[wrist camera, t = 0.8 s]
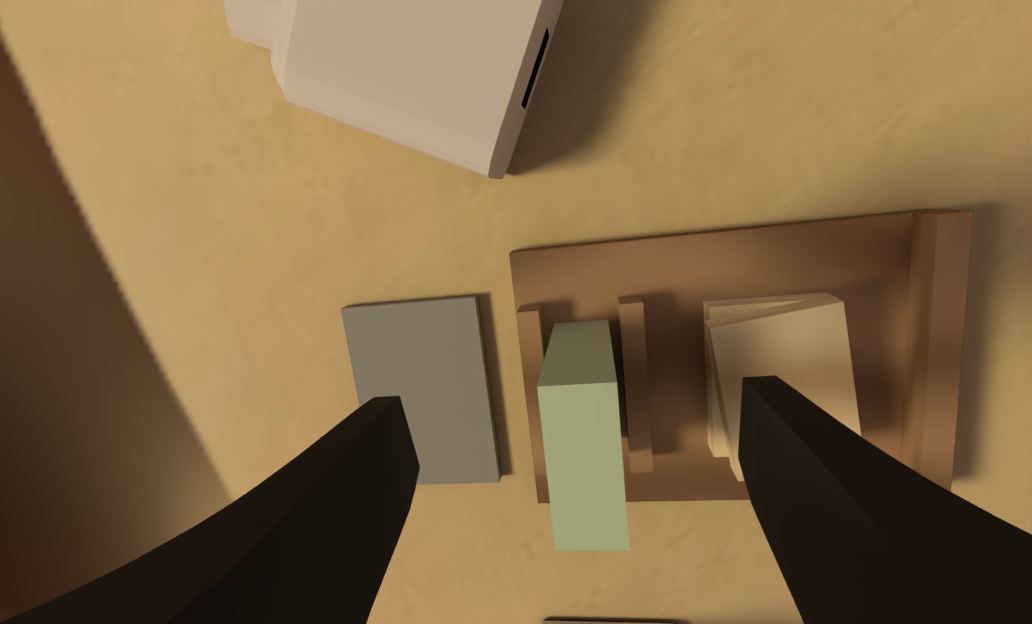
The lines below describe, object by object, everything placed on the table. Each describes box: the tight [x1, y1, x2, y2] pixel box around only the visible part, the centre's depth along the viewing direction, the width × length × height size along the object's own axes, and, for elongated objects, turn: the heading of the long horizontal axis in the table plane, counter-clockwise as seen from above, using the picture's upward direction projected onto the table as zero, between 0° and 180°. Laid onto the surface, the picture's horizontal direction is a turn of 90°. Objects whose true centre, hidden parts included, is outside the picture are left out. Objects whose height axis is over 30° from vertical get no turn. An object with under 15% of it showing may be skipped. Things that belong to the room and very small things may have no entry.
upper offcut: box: [704, 296, 861, 482], centre depth 21 cm, size 7×5×1 cm
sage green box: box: [537, 319, 629, 550], centre depth 20 cm, size 6×2×8 cm, turn 6°
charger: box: [224, 0, 564, 179], centre depth 21 cm, size 5×9×15 cm
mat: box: [341, 295, 501, 484], centre depth 26 cm, size 10×7×1 cm
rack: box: [509, 209, 974, 503], centre depth 23 cm, size 13×18×2 cm
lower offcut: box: [703, 292, 838, 457], centre depth 22 cm, size 7×5×1 cm
